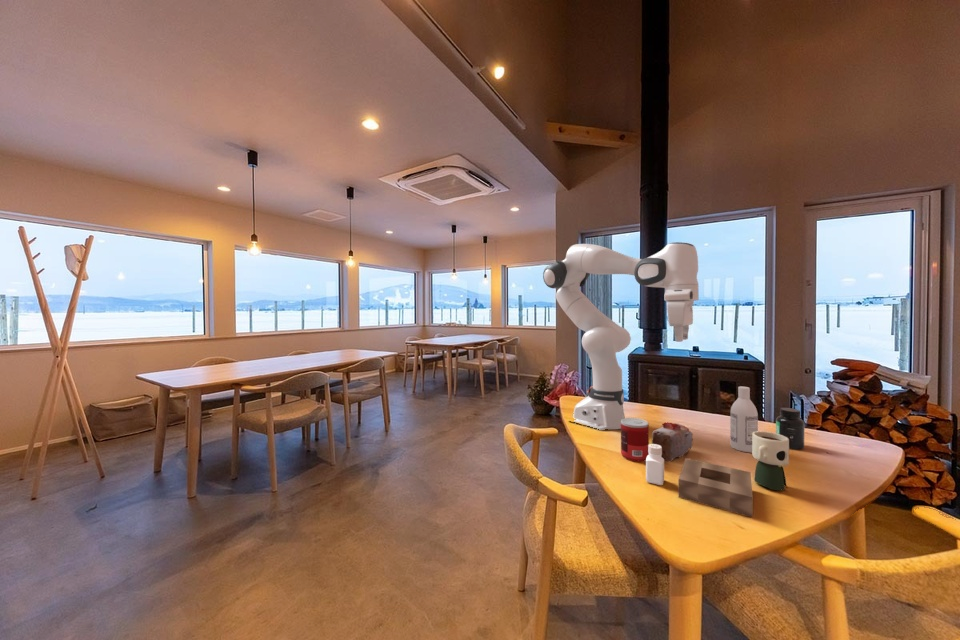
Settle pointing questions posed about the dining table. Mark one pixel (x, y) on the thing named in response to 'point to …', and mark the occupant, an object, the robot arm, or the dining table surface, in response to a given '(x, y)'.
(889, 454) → the dining table surface
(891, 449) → the dining table surface
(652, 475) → the pepper shaker
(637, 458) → the canned food
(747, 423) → the bath foam
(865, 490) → the dining table surface
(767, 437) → the character mug
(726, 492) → the socket
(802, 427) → the supplement bottle
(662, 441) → the food item
